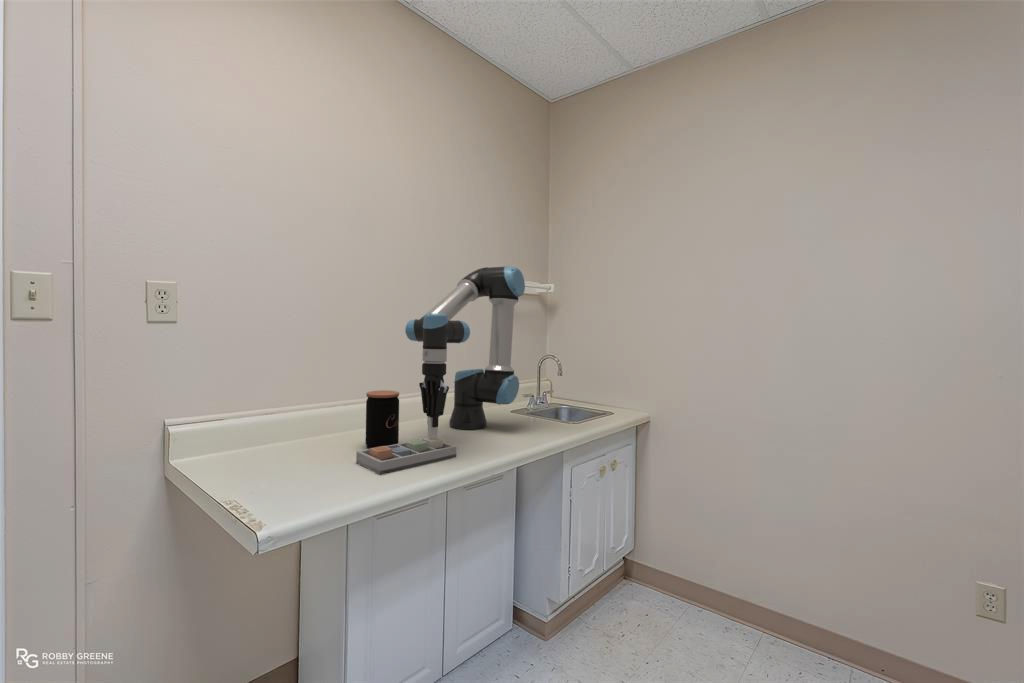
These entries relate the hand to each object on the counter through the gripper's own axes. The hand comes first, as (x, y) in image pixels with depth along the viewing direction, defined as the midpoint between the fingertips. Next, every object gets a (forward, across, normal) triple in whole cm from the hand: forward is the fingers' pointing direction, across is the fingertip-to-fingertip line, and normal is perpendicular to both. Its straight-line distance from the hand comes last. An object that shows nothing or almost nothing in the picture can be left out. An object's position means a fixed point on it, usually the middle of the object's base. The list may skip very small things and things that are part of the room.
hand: (432, 436), depth 145 cm
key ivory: (+3, 0, 0) cm, 3 cm away
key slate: (+4, 0, -12) cm, 13 cm away
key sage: (+3, 0, -6) cm, 7 cm away
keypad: (+6, 0, -9) cm, 11 cm away
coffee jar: (+6, -19, -7) cm, 21 cm away
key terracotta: (+3, 0, -18) cm, 18 cm away
